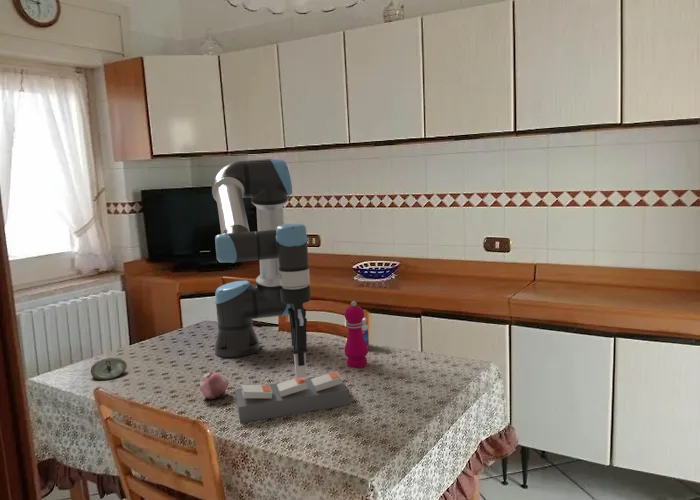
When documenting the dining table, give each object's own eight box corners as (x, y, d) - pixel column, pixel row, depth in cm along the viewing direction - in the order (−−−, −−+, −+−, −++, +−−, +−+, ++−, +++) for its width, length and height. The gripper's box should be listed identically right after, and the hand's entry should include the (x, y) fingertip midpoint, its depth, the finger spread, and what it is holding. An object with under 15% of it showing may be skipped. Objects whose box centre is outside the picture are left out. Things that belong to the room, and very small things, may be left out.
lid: (127, 367, 189) (125, 352, 188) (127, 377, 180) (126, 361, 179) (91, 373, 185) (89, 357, 185) (90, 383, 176) (88, 367, 176)
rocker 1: (241, 390, 149) (242, 384, 149) (269, 391, 151) (269, 384, 151) (243, 398, 144) (244, 391, 144) (271, 398, 146) (272, 391, 146)
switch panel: (236, 404, 155) (234, 388, 154) (338, 388, 162) (337, 373, 161) (239, 422, 143) (238, 406, 143) (350, 404, 150) (349, 389, 150)
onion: (197, 402, 160) (192, 376, 161) (221, 395, 165) (217, 370, 166) (211, 400, 154) (207, 372, 155) (236, 393, 160) (232, 367, 161)
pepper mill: (355, 359, 185) (351, 297, 182) (373, 363, 181) (370, 299, 178) (340, 365, 180) (336, 302, 177) (358, 370, 175) (355, 305, 172)
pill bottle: (360, 350, 193) (358, 322, 192) (349, 347, 197) (348, 319, 196) (372, 346, 197) (371, 318, 195) (362, 343, 201) (360, 315, 199)
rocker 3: (312, 384, 154) (310, 378, 153) (337, 376, 155) (335, 370, 155) (316, 391, 149) (314, 385, 149) (342, 383, 151) (340, 376, 150)
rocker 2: (278, 389, 152) (276, 383, 151) (304, 381, 153) (302, 375, 153) (281, 397, 147) (279, 390, 146) (307, 388, 148) (306, 382, 148)
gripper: (276, 282, 152) (282, 370, 155) (284, 292, 139) (291, 387, 143) (304, 280, 154) (310, 366, 157) (315, 289, 141) (321, 382, 145)
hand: (301, 376), depth 150 cm, fingers closed
